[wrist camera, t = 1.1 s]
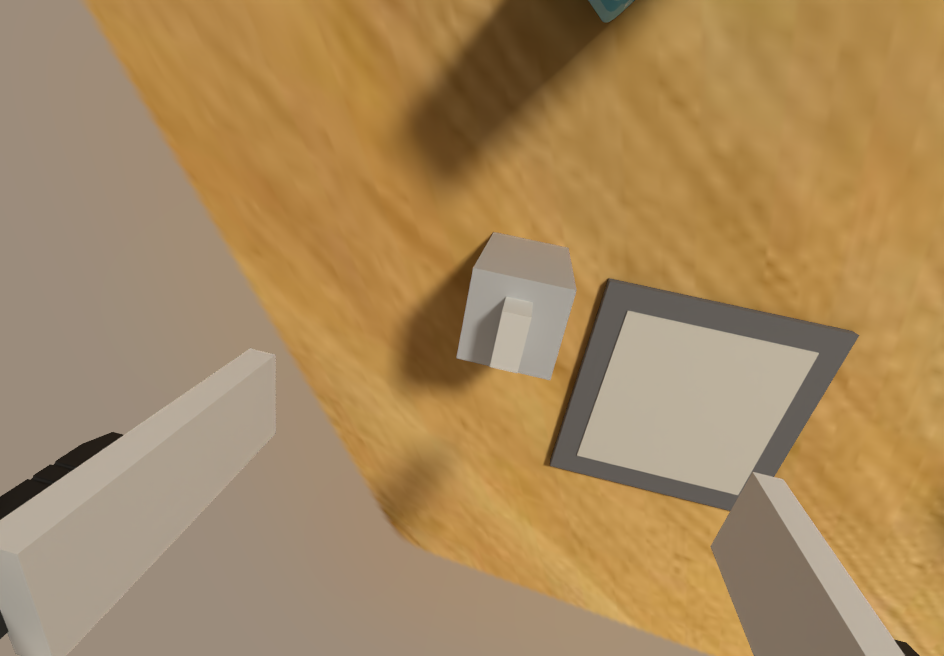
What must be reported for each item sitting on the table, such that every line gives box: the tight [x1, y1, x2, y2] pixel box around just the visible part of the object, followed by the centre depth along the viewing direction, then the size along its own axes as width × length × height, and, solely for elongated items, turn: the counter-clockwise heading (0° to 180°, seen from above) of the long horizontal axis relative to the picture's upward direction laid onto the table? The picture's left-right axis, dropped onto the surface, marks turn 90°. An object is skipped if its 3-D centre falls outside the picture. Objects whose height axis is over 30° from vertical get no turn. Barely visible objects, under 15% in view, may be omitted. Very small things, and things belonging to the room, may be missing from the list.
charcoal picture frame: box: [550, 278, 859, 511], centre depth 28 cm, size 14×14×1 cm
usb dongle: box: [457, 232, 576, 380], centre depth 23 cm, size 4×4×10 cm
